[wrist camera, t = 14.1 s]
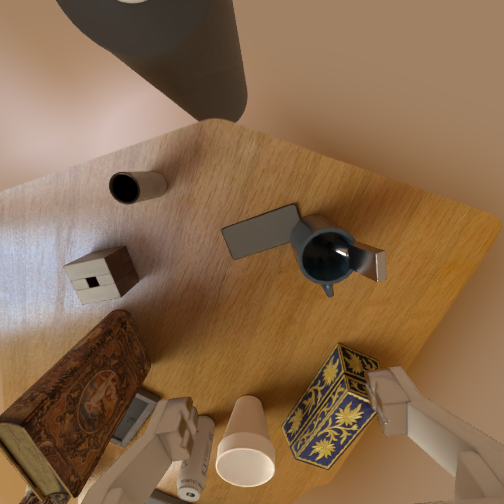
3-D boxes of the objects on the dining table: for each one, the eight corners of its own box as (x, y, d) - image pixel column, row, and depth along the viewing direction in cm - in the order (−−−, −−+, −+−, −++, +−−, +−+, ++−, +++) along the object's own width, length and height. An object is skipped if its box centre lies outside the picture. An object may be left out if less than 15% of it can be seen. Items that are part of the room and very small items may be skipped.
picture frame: (102, 368, 59) (74, 417, 65) (97, 375, 57) (68, 425, 63) (160, 397, 61) (127, 441, 67) (157, 404, 59) (123, 449, 65)
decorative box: (280, 426, 63) (283, 466, 54) (337, 342, 53) (352, 375, 45) (316, 439, 64) (325, 480, 55) (379, 359, 55) (400, 393, 46)
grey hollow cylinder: (147, 199, 44) (115, 207, 35) (139, 174, 43) (103, 175, 33) (170, 194, 44) (144, 201, 34) (162, 169, 43) (133, 169, 33)
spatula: (308, 229, 44) (376, 253, 29) (315, 227, 45) (385, 250, 29) (311, 249, 46) (377, 282, 30) (318, 247, 46) (386, 279, 30)
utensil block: (89, 253, 49) (62, 266, 42) (125, 245, 48) (103, 257, 41) (105, 287, 51) (82, 304, 44) (139, 280, 50) (121, 297, 44)
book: (105, 312, 53) (-21, 425, 29) (127, 308, 53) (18, 420, 29) (131, 368, 58) (42, 504, 35) (152, 365, 58) (76, 501, 34)
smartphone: (220, 229, 46) (295, 202, 43) (221, 228, 46) (294, 202, 44) (233, 261, 48) (305, 237, 45) (233, 259, 48) (305, 236, 46)
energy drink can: (197, 411, 62) (178, 482, 48) (218, 418, 63) (206, 490, 48) (190, 426, 64) (170, 498, 50) (211, 432, 65) (197, 506, 50)
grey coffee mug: (286, 220, 45) (293, 234, 34) (334, 210, 44) (357, 222, 34) (296, 279, 49) (306, 308, 38) (340, 271, 48) (363, 299, 37)
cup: (282, 406, 60) (288, 470, 48) (249, 429, 64) (246, 494, 51) (247, 379, 58) (244, 439, 45) (215, 404, 61) (202, 467, 48)
